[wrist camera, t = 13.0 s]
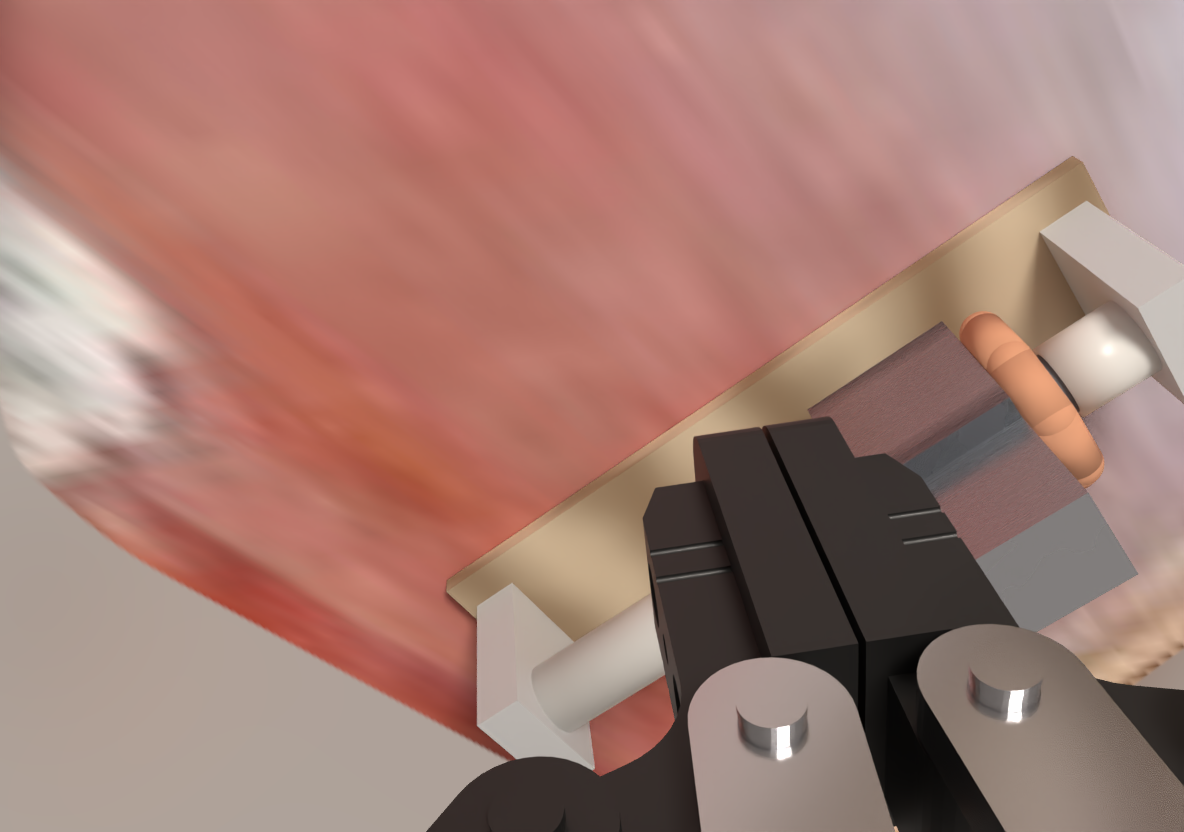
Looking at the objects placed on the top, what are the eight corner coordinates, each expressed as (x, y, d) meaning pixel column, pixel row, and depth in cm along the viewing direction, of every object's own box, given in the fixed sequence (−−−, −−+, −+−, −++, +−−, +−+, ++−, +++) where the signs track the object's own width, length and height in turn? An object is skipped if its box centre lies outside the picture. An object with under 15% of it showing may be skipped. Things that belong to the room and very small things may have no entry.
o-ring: (1009, 429, 44) (1096, 532, 38) (928, 302, 41) (1009, 393, 35) (1044, 407, 44) (1138, 508, 38) (965, 278, 41) (1054, 365, 34)
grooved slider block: (880, 507, 45) (982, 687, 36) (807, 409, 42) (897, 577, 33) (1009, 426, 43) (1150, 593, 34) (942, 320, 41) (1074, 470, 32)
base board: (556, 680, 52) (557, 692, 51) (446, 580, 48) (446, 591, 48) (1149, 306, 45) (1160, 314, 44) (1072, 155, 41) (1082, 162, 41)
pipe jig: (545, 657, 51) (555, 792, 44) (477, 594, 49) (476, 725, 42) (1124, 287, 44) (1245, 378, 37) (1076, 193, 42) (1194, 272, 35)
